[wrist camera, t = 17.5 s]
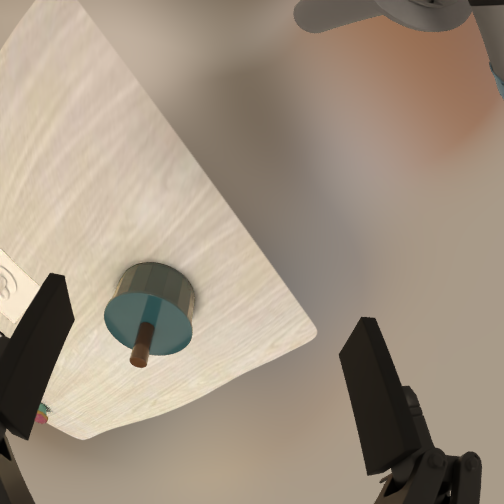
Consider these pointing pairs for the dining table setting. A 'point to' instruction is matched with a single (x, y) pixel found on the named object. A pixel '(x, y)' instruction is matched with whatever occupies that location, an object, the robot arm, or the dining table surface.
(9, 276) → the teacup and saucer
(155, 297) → the lid
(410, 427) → the robot arm
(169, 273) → the bowl
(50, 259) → the dining table surface
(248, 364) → the dining table surface
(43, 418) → the cupcake
